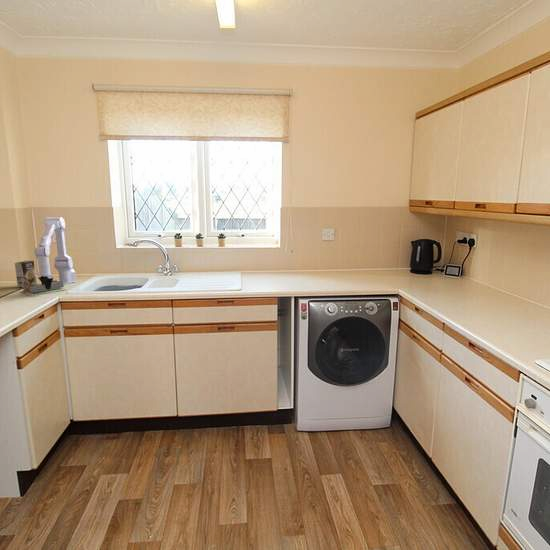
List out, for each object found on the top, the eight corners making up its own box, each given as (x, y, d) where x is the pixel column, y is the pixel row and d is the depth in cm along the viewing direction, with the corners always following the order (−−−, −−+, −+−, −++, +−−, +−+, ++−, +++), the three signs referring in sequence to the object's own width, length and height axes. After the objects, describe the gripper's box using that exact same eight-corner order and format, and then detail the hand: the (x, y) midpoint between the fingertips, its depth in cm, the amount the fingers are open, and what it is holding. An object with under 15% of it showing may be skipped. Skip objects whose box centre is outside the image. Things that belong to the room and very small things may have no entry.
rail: (61, 286, 249) (60, 280, 248) (63, 287, 247) (63, 281, 246) (29, 291, 235) (28, 286, 235) (31, 292, 233) (31, 287, 233)
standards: (54, 286, 257) (53, 278, 256) (59, 287, 251) (58, 280, 250) (22, 291, 243) (21, 283, 242) (28, 293, 238) (26, 285, 237)
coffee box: (26, 288, 251) (22, 263, 248) (17, 287, 253) (13, 262, 249) (37, 285, 260) (34, 260, 257) (28, 284, 261) (25, 260, 258)
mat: (61, 287, 252) (61, 286, 251) (67, 289, 246) (67, 288, 246) (26, 294, 237) (26, 293, 236) (31, 296, 231) (31, 295, 231)
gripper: (32, 266, 240) (35, 288, 243) (41, 269, 231) (44, 291, 234) (44, 264, 245) (47, 286, 248) (54, 267, 236) (57, 289, 239)
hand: (47, 288), depth 241 cm, fingers closed on rail, 3 cm apart
